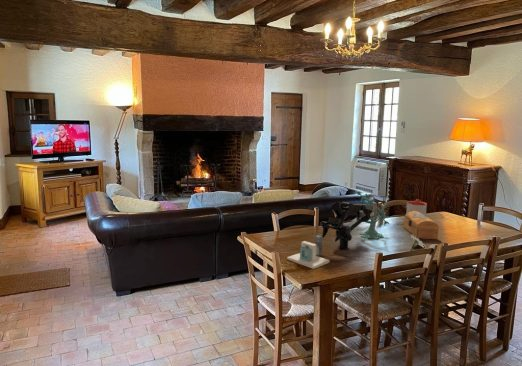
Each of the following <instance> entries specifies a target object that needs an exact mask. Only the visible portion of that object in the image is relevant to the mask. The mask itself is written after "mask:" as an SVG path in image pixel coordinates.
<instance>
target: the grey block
mask: <svg viewBox="0 0 522 366" xmlns="http://www.w3.org/2000/svg"><path fill="white" fill-rule="evenodd" d="M314 240H315V242H313V244H316V256H321V255H323V251H322V250H323V238H322V235H315V239H314ZM307 248H309V246H307Z"/></svg>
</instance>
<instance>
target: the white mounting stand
mask: <svg viewBox="0 0 522 366" xmlns="http://www.w3.org/2000/svg"><path fill="white" fill-rule="evenodd" d="M300 246H301V247H306V248H307V246H309V249H312V252H311V261H306V260H303V259H300V252H299V253H295V254H292V255H290V256H286V257H287V261H290V262H293V263H296V264H299V265H302V266H305V267H307V268H310V269H312V270H314V269H317V268H319V267H321V266H324V265H327V264H330V259H327V258H324V257H321V256H319V255H316V244H314V242H313V243H312V242H309V241H306V240H303V241H301V245H300ZM304 256H306V257H307V252H306V251H304Z"/></svg>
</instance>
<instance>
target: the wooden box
mask: <svg viewBox="0 0 522 366" xmlns="http://www.w3.org/2000/svg"><path fill="white" fill-rule="evenodd" d="M406 213H407V212H406ZM403 229H404V230H406V231H407V232H408V231H409V232H408V233H409V234H413V235H414V236H416V238H423V239H424V240H425V239H426V240H438V237H439V225H438V223H436V222H435V221H434V220H432V219H431V218H430V217H428V216H427V215H426V216H425V215H423V214H422V213H420V212H417V211H411V212H409V213H407V214H405V215H404V219H403Z"/></svg>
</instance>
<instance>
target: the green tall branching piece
mask: <svg viewBox="0 0 522 366" xmlns="http://www.w3.org/2000/svg"><path fill="white" fill-rule="evenodd" d="M361 193H362V192H361V191H359V190H358V191H357V192H356V194H357V196H361V201H360V202H359V204H362V205H363V204H365V207H366V208H367V209H369V210H370V211H372V213H374V214H373V215H371V217H370V219H369V220H368V221H366V222H365V223H367V224H369V227H368V229H366V230H365V231H364V232H360V233H358V234H359V235H360V237H361V238H365V239H368V240H380V239H384V238H385V236H384V235H383V234H382V233H378V231H377V230H376V229H375V226H374V224H375V223H377V222H378V221H380V220H383V225H384V227H386V225H390V222H389V221H387V220H385V219H386V218H387V214H385V213H384V212H383V211H384V210H385V208H386V205H387V202H385V203H384V205H383V206H382V208H379V207H378V206H377V205H376V204H375V203H374V201H375V198H372V199H369V198H368V193H365V194H364V195H365V196H363V194H361ZM375 208H376V209H375ZM375 217H379V218H377V219H375V220H374V218H375Z"/></svg>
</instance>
